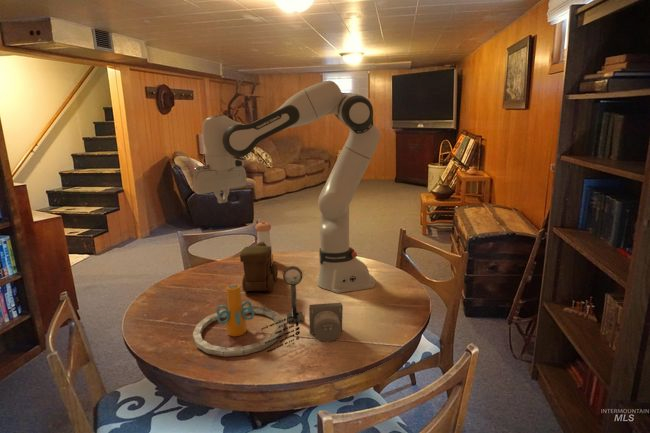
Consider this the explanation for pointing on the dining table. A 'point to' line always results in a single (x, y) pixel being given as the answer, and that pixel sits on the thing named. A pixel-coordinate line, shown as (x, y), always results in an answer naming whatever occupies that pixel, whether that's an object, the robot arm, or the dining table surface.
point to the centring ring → (237, 350)
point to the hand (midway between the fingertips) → (222, 202)
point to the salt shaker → (264, 234)
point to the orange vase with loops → (234, 312)
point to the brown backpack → (258, 268)
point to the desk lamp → (293, 290)
